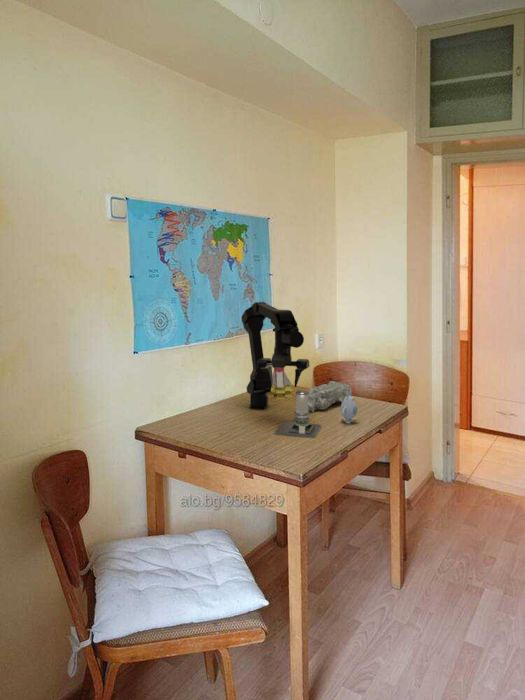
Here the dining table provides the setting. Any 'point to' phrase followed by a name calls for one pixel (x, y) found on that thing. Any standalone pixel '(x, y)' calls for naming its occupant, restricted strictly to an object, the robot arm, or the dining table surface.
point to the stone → (326, 395)
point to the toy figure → (348, 408)
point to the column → (302, 409)
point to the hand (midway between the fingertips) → (283, 386)
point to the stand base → (291, 430)
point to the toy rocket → (280, 384)
